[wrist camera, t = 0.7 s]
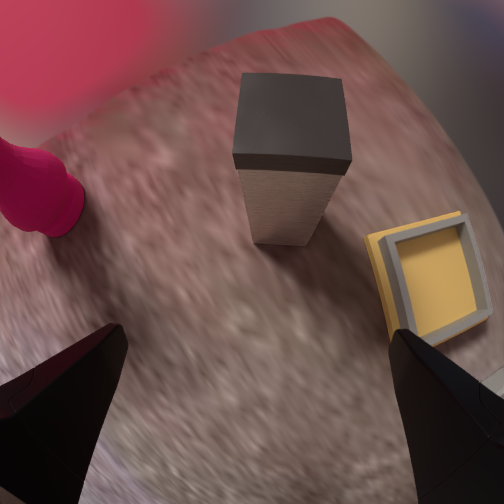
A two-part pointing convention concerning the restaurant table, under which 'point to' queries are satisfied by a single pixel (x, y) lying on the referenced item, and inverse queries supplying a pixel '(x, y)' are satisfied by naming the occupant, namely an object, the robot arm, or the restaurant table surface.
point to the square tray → (430, 277)
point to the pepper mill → (38, 191)
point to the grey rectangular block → (289, 152)
